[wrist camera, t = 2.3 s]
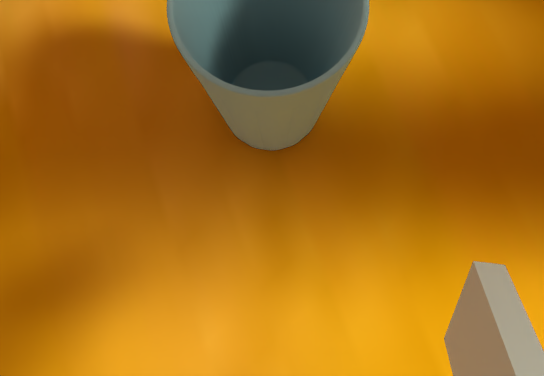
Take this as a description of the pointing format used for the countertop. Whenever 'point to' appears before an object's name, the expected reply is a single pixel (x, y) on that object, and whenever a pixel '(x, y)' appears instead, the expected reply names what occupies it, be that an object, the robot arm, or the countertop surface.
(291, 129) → the cup
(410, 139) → the countertop surface
